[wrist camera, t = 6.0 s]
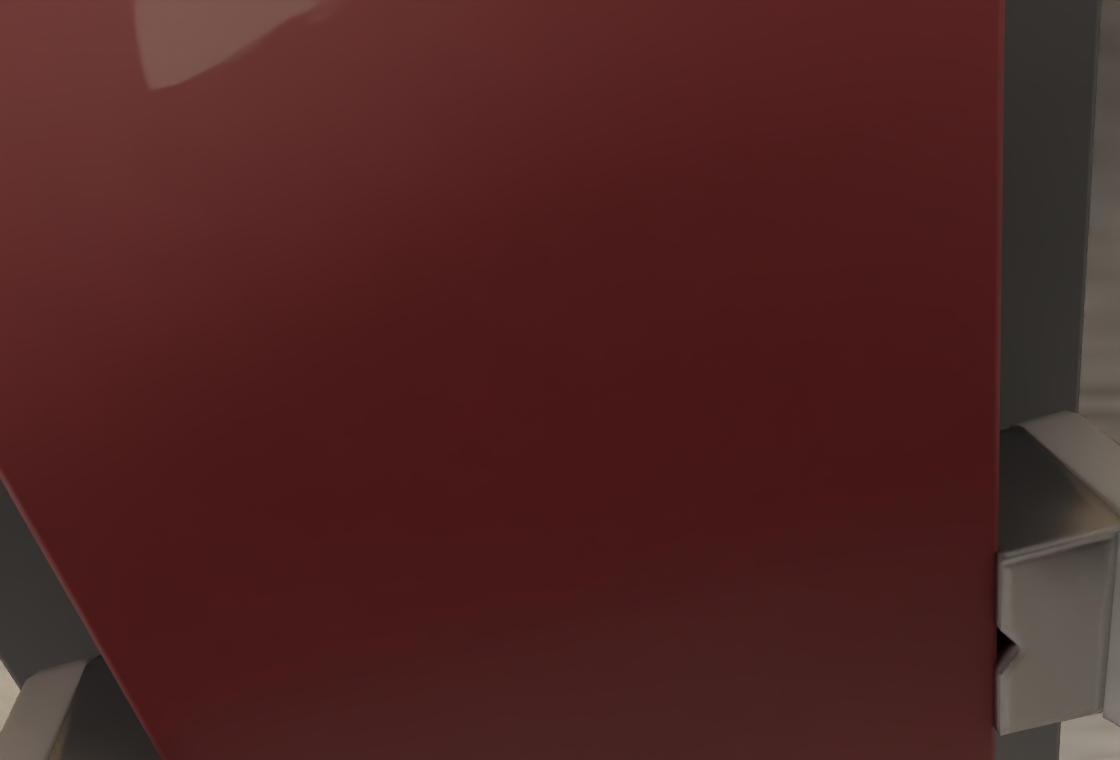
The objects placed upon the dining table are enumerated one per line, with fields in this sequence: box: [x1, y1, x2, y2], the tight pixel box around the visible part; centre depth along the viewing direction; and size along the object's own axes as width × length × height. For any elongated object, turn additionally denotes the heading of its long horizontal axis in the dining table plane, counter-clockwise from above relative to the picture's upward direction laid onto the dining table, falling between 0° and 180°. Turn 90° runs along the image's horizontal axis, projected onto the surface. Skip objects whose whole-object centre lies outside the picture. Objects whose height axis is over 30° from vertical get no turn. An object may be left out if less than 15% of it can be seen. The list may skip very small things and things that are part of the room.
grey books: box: [0, 0, 1101, 760], centre depth 11 cm, size 16×11×5 cm
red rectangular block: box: [0, 0, 1005, 760], centre depth 8 cm, size 14×6×2 cm, turn 12°
